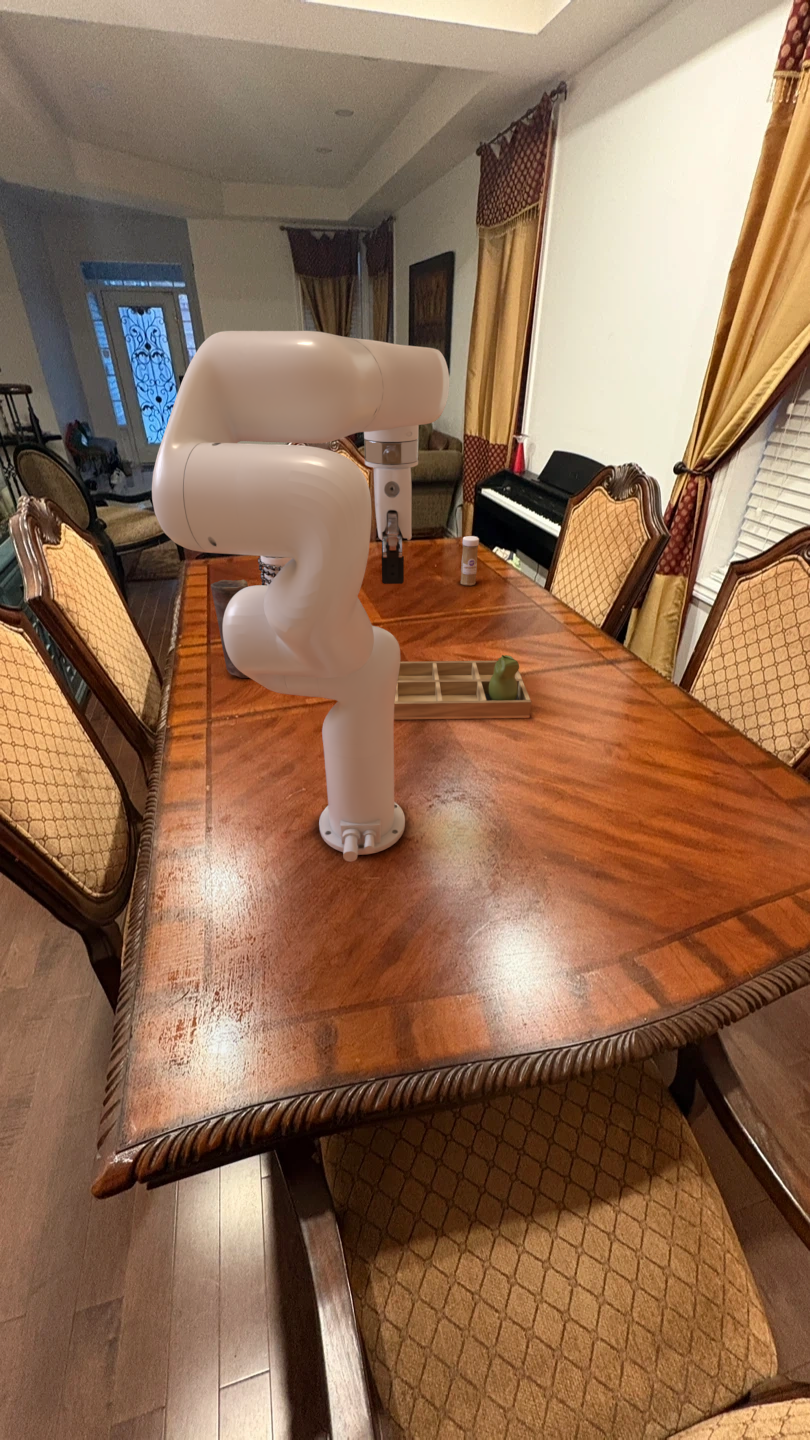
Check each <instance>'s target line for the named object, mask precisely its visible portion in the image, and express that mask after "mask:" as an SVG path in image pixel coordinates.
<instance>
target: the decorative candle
mask: <svg viewBox="0 0 810 1440" xmlns="http://www.w3.org/2000/svg"><path fill="white" fill-rule="evenodd" d="M291 559H292V558H287V557H271V556H259V557H258V558H257V564H258V570H259V571H260V572H261V573H260V579H261V585H268V586H269V585H270V583H271V582H272V580H273V579H274V577H275V576H276V575H277V574H278V572H279V571H280V570H281V569H282V568H283V567H284V566H285V564H287V563H288V562H289V561H290V560H291Z"/></svg>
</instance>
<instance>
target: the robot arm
mask: <svg viewBox="0 0 810 1440" xmlns="http://www.w3.org/2000/svg"><path fill="white" fill-rule="evenodd" d="M181 380H182V381H181V383H180V386H179V389H178V391H177V394H176V397H175V400H174V403H173V406H172V409H171V412H170V415H169V417H168V418H169V419H168V421H167V425H166V427H165V430H164V433H163V436H162V439H161V442H160V445H159V448H158V451H157V455H156V459H155V463H154V467H153V471H152V480H151V500H152V505H153V511H154V515H155V517H156V520H157V522H158V524H159V526H160V528H161V530H162V531H163V533H164V534H165V535H166V536H167V537H168V538H169V539H170V540H171V541H172V542H173V543H175V544H176V545H178V546H180V547H183V548H185V549H187V550H191V551H193V552H201V553H209V554H221V555H222V554H223V555H238V556H239V555H241V556H259V557H261V556H271V557H287V558H292V559H291V560H290V561H289V562H288V563H287V564H285V566H284V567H283V568H282V569H281V570H280V571H279V572H278V574H277V575H276V576H275V577H274V579H273V580H272V582H271V583H270V585H269V586H268V585H262V584H258V585H257V584H256V585H250V586H249V585H248V587H246V588H244V589H242V590H240V591H238V592H237V593H236V594H235V595H234V596H233V597H232V598H231V600H230V601H229V603H228V605H227V607H226V610H225V613H224V618H223V627H222V629H223V639H224V644H225V648H226V651H227V654H228V656H229V658H230V660H231V661H232V663H233V664H234V666H235V667H236V668H237V669H238V670H239V671H240V672H242V673H243V674H245V675H246V676H248V678H249V679H251V680H252V681H254V682H255V683H257V684H259V685H261V686H262V687H264V688H265V689H266V690H269V691H271V692H274V693H277V694H282V695H291V696H299V697H310V698H321V699H326V700H333V701H336V703H334V705H333V706H332V707H331V708H330V709H329V711H328V712H327V713H326V715H325V716H324V717H325V718H324V720H323V721H322V722H323V723H322V727H321V735H322V738H321V739H322V743H323V746H322V747H323V757H324V759H323V760H324V770H325V781H326V782H325V783H326V794H327V804H328V805H326V807H325V808H323V811H322V812H321V813H320V816H319V822H318V828H319V833H320V836H321V838H322V840H323V841H324V842H325V843H326V844H327V845H328V846H329V847H331V848H332V849H334V850H336V851H338V852H340V853H342V859H343V860H344V861H346V862H351V863H353V862H355V861H356V860H357V859H358V856H360V855H362V856H364V855H372V854H376V853H379V852H382V851H385V850H387V849H388V848H391V847H392V846H394V844H396V843H397V842H398V841H399V839H401V837H402V835H403V834H404V831H405V828H406V816H405V813H404V810H403V809H402V807H401V806H400V805H399V804H398V802H396V801H395V734H394V733H395V731H394V730H395V727H394V725H395V720H394V702H395V694H396V687H397V681H398V675H399V669H400V662H401V659H402V658H401V648H400V644H399V641H398V639H397V638H396V636H395V635H393V634H392V633H391V632H390V631H388V630H387V629H386V628H385V629H384V628H383V627H379V626H376V625H373V624H372V622H371V619H370V617H369V615H368V613H367V611H366V609H365V608H364V606H363V604H362V602H361V599H360V598H359V594H360V591H361V588H362V585H363V581H364V578H365V575H366V574H365V573H366V571H367V570H366V569H367V566H368V559H369V553H370V544H371V533H372V513H373V512H372V498H371V491H370V487H369V485H368V484H369V483H368V481H367V478H366V476H365V474H364V473H363V471H362V470H361V468H360V467H359V466H358V464H356V463H355V462H354V461H353V460H351V459H350V458H348V457H347V456H345V455H343V454H341V453H339V452H335V451H333V450H330V449H325V448H321V447H316V446H309V445H298V444H326V443H331V442H334V441H337V440H340V439H343V438H346V437H349V436H351V435H355V434H358V433H363V440H364V441H363V444H364V445H363V447H364V448H363V449H364V450H363V451H364V465H365V466H366V467H369V468H373V487H374V488H373V493H374V508H375V509H374V510H375V519H376V520H375V522H376V529H377V536H378V539H379V540H381V583H382V584H383V585H402V584H403V583H404V581H405V578H404V577H405V556H404V555H403V539H406V541H411V539H412V537H413V536H412V535H413V534H412V532H413V531H412V516H413V515H412V509H413V508H412V507H413V506H412V503H413V501H412V499H413V497H412V494H413V493H412V489H413V488H412V487H413V486H412V485H413V484H412V468H414V467H416V466H418V465H419V426H420V425H421V426H422V425H428V424H433V423H435V422H436V421H437V420H439V418H440V417H441V416H442V414H443V412H444V410H445V408H446V405H447V402H448V397H449V392H450V374H449V368H448V364H447V361H446V358H445V357H444V355H443V353H442V352H441V351H440V350H439V349H437V348H433V347H426V346H417V345H416V346H415V345H405V344H397V343H391V342H386V341H381V340H373V339H364V338H354V337H350V336H349V337H348V336H343V335H342V336H341V335H337V334H332V333H329V332H325V331H316V330H224V331H218V332H215V333H213V334H211V335H210V336H208V337H207V338H206V339H205V340H204V341H203V342H202V343H201V344H200V346H199V347H198V349H197V350H196V352H195V354H194V355H193V357H192V358H191V360H190V362H189V365H188V366H187V369H186V370H185V374H184V376H183V378H182V379H181ZM240 442H242V443H240ZM243 442H253V443H243ZM254 442H256V443H254ZM257 442H258V443H257ZM274 443H291V444H274Z"/></svg>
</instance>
